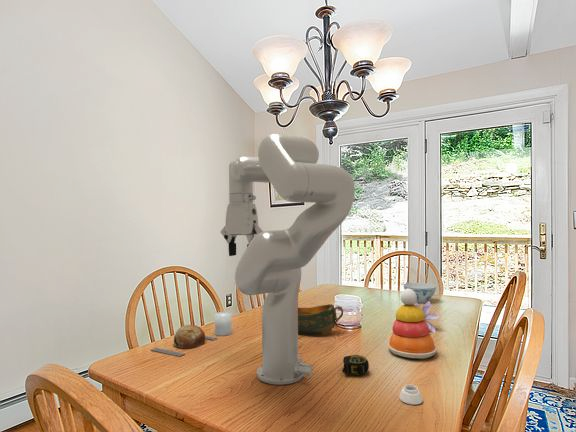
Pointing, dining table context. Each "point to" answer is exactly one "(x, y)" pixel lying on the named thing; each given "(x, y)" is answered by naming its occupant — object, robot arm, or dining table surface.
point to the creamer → (317, 320)
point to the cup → (223, 323)
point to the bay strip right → (210, 338)
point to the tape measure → (355, 365)
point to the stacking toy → (411, 330)
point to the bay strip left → (168, 352)
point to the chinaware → (421, 290)
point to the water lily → (428, 315)
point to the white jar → (410, 395)
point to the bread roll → (189, 337)
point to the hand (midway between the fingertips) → (241, 255)
